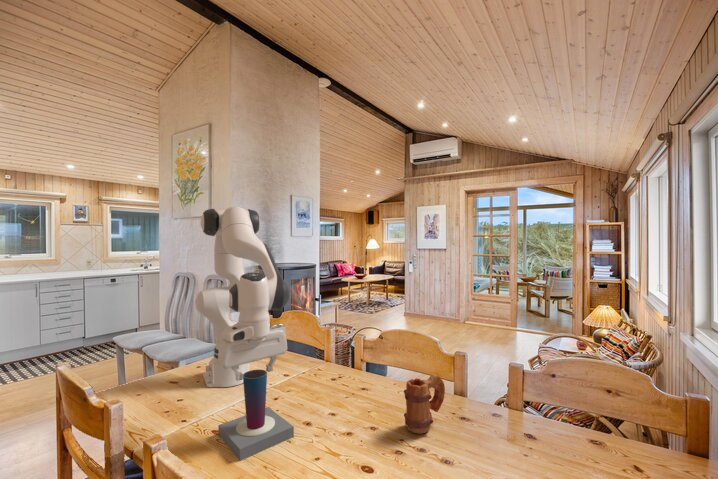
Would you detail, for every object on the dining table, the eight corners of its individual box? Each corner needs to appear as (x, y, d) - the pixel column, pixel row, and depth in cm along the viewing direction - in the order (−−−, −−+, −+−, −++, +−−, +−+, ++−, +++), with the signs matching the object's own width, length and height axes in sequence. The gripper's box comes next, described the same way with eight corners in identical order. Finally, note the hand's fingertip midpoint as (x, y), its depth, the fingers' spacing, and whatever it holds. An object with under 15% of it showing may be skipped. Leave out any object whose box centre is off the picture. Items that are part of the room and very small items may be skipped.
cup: (261, 432, 96) (260, 379, 96) (239, 430, 97) (238, 377, 97) (271, 419, 103) (270, 370, 103) (250, 418, 104) (249, 369, 104)
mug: (413, 440, 96) (412, 387, 97) (397, 427, 104) (396, 377, 104) (452, 427, 103) (452, 377, 103) (435, 415, 110) (434, 368, 111)
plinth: (218, 435, 101) (218, 424, 101) (268, 416, 111) (268, 406, 111) (240, 460, 89) (240, 448, 89) (293, 436, 99) (293, 425, 99)
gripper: (280, 320, 110) (281, 363, 110) (215, 332, 96) (216, 381, 96) (290, 324, 105) (291, 368, 105) (223, 337, 91) (224, 389, 91)
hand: (254, 375), depth 100 cm, fingers open, 8 cm apart
